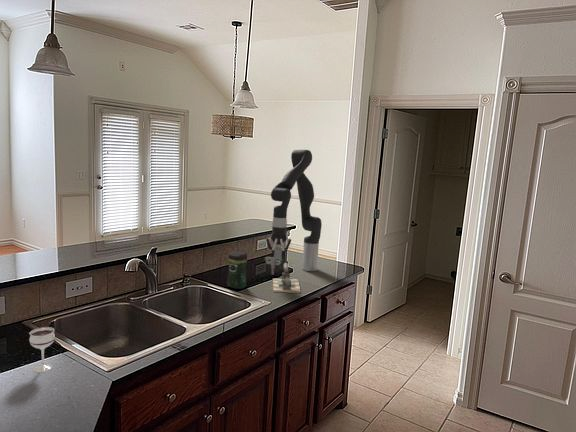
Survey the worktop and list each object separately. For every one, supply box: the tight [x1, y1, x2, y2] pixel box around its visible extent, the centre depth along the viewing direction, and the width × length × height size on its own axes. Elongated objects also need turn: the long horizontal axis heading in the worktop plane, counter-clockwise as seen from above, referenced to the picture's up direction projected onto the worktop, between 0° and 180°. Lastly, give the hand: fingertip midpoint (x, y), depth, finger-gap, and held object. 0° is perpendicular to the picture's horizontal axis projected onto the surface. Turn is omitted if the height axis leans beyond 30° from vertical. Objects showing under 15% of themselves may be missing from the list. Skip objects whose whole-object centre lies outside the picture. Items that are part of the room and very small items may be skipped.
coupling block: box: [274, 245, 283, 260], centre depth 223 cm, size 4×4×7 cm
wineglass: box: [28, 326, 56, 373], centre depth 128 cm, size 7×7×12 cm
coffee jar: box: [226, 250, 248, 290], centre depth 216 cm, size 10×8×19 cm
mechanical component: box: [264, 256, 283, 276], centre depth 242 cm, size 3×10×10 cm, turn 78°
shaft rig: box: [272, 262, 301, 294], centre depth 222 cm, size 29×14×9 cm, turn 3°
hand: (277, 256), depth 223 cm, fingers closed on coupling block, 4 cm apart
